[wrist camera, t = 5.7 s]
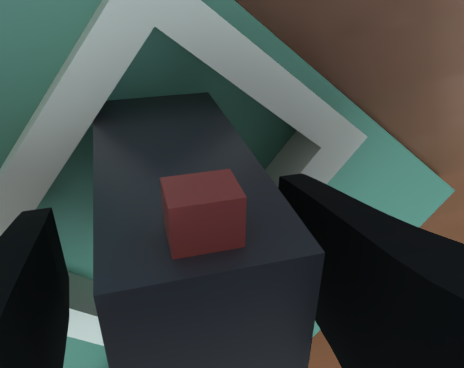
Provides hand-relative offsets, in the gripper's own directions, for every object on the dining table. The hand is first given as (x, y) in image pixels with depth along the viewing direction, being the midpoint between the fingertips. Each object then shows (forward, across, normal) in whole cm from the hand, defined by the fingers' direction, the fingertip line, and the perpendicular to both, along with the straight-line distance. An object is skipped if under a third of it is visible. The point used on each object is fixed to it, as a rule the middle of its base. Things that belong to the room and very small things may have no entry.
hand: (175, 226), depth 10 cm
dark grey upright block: (+3, 0, 0) cm, 3 cm away
